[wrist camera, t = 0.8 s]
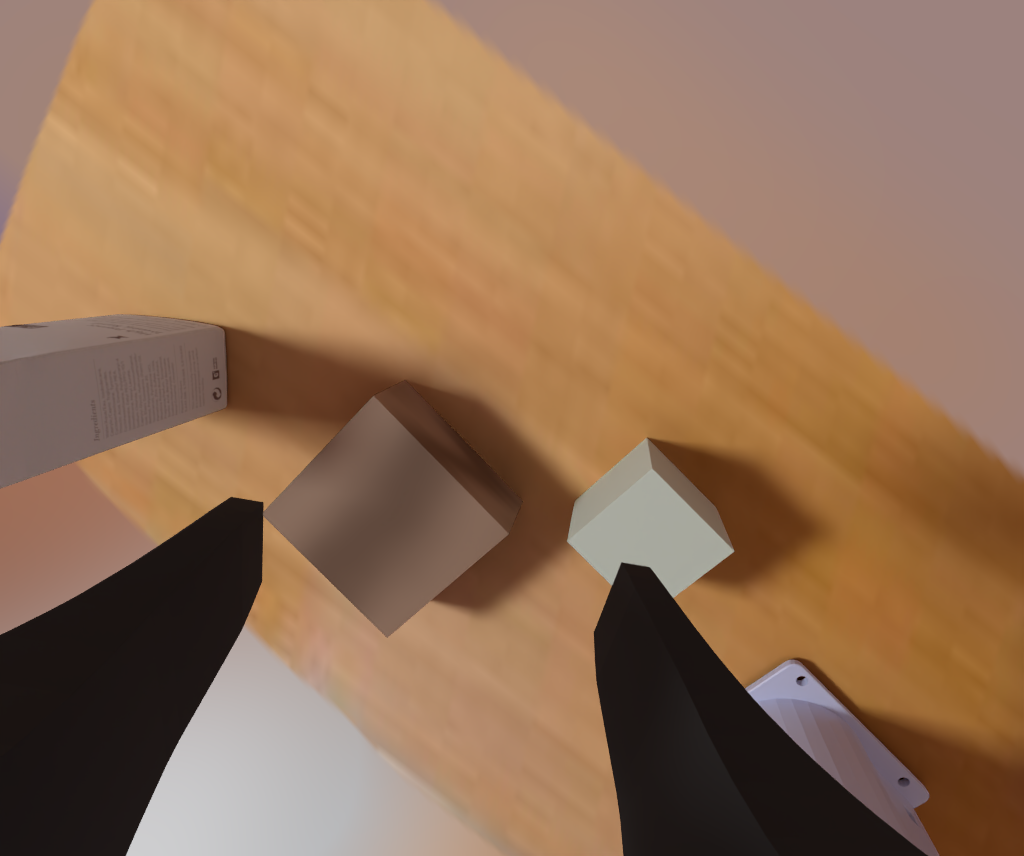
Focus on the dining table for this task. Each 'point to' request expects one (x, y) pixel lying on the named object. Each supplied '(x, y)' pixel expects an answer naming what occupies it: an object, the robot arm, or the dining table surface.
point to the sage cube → (649, 522)
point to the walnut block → (395, 508)
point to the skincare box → (101, 386)
